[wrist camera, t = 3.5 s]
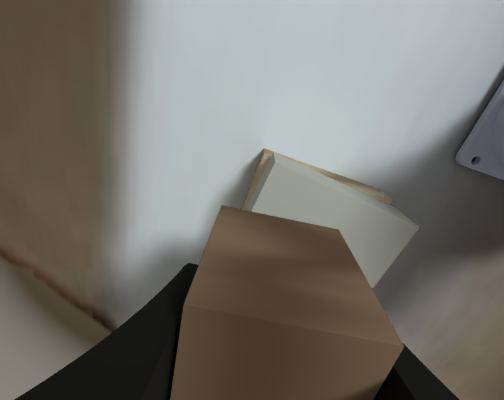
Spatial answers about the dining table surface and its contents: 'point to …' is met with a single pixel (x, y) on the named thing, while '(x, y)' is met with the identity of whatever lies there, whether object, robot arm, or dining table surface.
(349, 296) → the walnut block
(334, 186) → the slab top
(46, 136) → the dining table surface
